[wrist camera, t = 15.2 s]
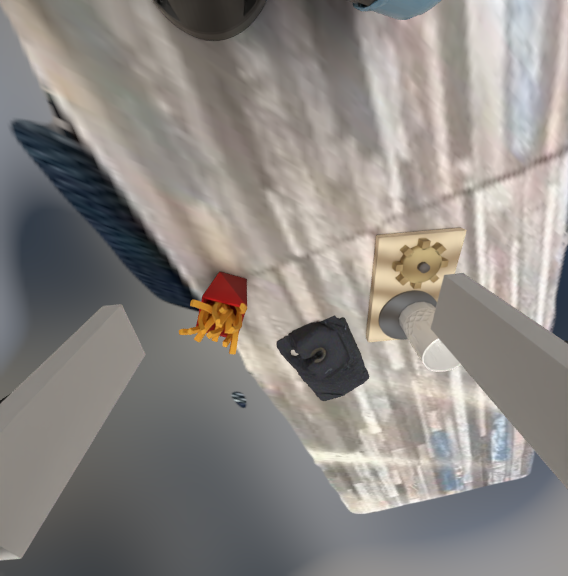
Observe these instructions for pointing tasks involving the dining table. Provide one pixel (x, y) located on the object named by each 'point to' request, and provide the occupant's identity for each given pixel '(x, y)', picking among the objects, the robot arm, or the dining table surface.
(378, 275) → the gear board
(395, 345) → the dining table surface
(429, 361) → the white cup
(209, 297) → the french fries
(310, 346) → the dark slate chunk
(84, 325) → the robot arm
